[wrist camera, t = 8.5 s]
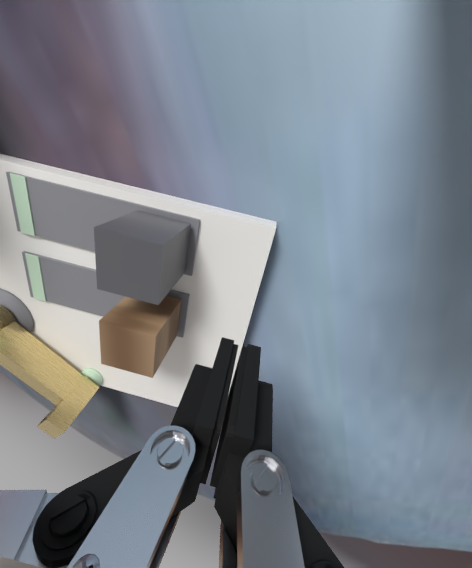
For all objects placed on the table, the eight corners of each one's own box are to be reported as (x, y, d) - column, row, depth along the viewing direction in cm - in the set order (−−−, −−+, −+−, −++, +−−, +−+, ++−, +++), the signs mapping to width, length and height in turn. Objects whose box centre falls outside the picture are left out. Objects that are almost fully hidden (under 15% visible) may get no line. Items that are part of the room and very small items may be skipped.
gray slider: (191, 223, 18) (162, 244, 14) (184, 272, 20) (158, 305, 16) (137, 210, 19) (93, 227, 14) (136, 260, 20) (97, 288, 16)
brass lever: (102, 385, 28) (67, 430, 23) (87, 395, 29) (52, 440, 25) (-8, 298, 25) (-73, 330, 20) (-19, 313, 26) (-83, 347, 21)
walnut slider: (181, 299, 21) (155, 336, 17) (176, 335, 23) (152, 378, 19) (135, 287, 22) (98, 320, 17) (134, 324, 23) (101, 363, 19)
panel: (276, 221, 20) (276, 229, 18) (224, 404, 30) (220, 422, 28) (-44, 142, 21) (-80, 141, 19) (10, 344, 31) (-9, 358, 29)
